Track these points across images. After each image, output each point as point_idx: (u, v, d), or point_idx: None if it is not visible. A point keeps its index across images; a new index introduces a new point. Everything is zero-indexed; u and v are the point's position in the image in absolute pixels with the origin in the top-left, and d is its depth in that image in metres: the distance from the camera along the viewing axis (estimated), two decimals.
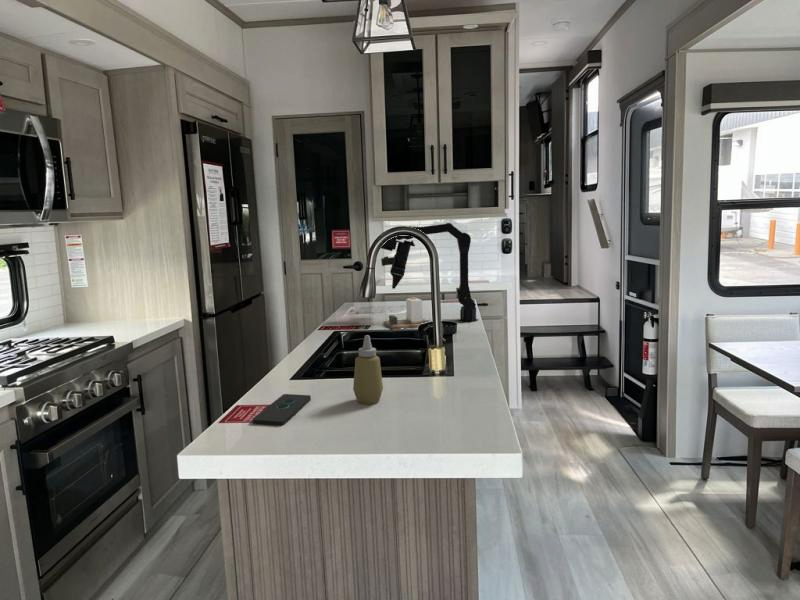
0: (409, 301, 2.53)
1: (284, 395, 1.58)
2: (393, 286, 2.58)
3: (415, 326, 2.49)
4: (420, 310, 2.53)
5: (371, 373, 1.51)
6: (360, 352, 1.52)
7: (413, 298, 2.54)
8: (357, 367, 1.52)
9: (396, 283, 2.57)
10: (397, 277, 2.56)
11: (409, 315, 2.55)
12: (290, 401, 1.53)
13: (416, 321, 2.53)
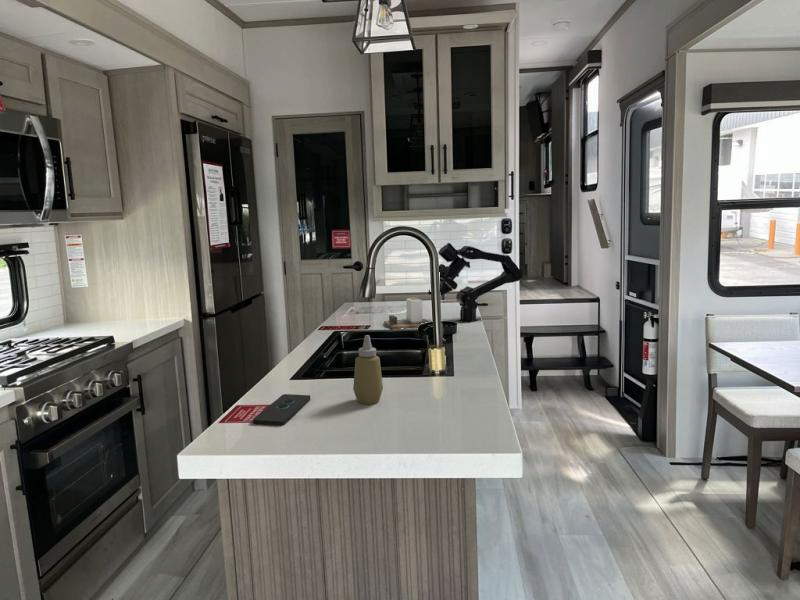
0: (409, 301, 2.53)
1: (283, 395, 1.58)
2: None
3: (415, 326, 2.49)
4: (420, 310, 2.53)
5: (371, 373, 1.51)
6: (360, 352, 1.52)
7: (413, 298, 2.54)
8: (357, 367, 1.52)
9: (441, 293, 2.53)
10: (445, 288, 2.53)
11: (409, 315, 2.55)
12: (290, 401, 1.53)
13: (416, 321, 2.53)
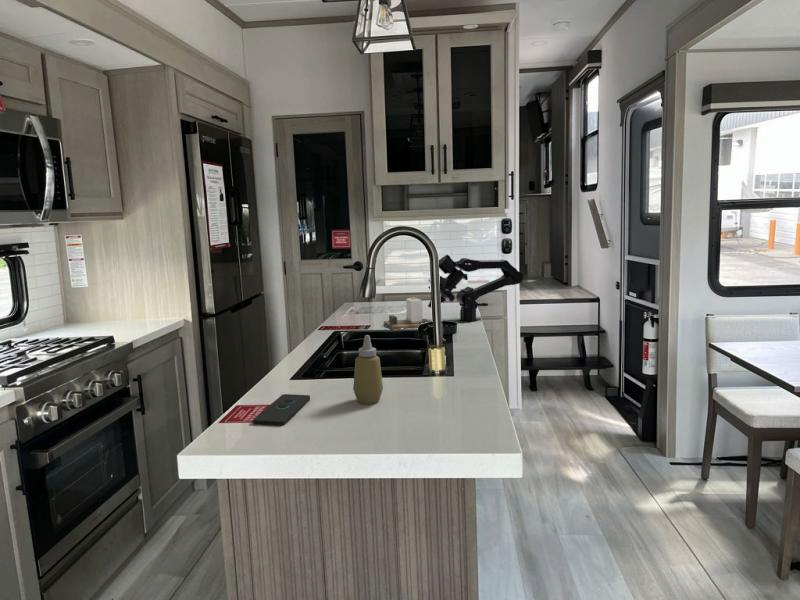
0: (409, 301, 2.53)
1: (283, 395, 1.58)
2: (430, 305, 2.57)
3: (415, 326, 2.49)
4: (420, 310, 2.53)
5: (371, 373, 1.51)
6: (360, 352, 1.52)
7: (413, 298, 2.54)
8: (357, 367, 1.52)
9: None
10: None
11: (409, 315, 2.55)
12: (290, 401, 1.53)
13: (416, 321, 2.53)
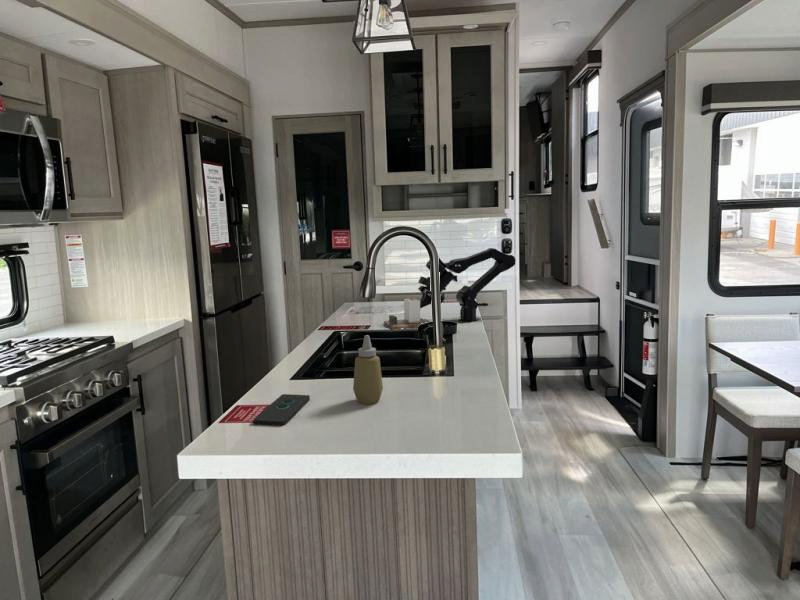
0: (407, 301, 2.53)
1: (283, 395, 1.58)
2: None
3: (415, 326, 2.49)
4: (418, 310, 2.52)
5: (371, 373, 1.51)
6: (360, 352, 1.52)
7: (411, 298, 2.54)
8: (357, 367, 1.52)
9: (424, 305, 2.55)
10: (428, 300, 2.55)
11: (407, 315, 2.54)
12: (289, 401, 1.53)
13: (414, 321, 2.53)
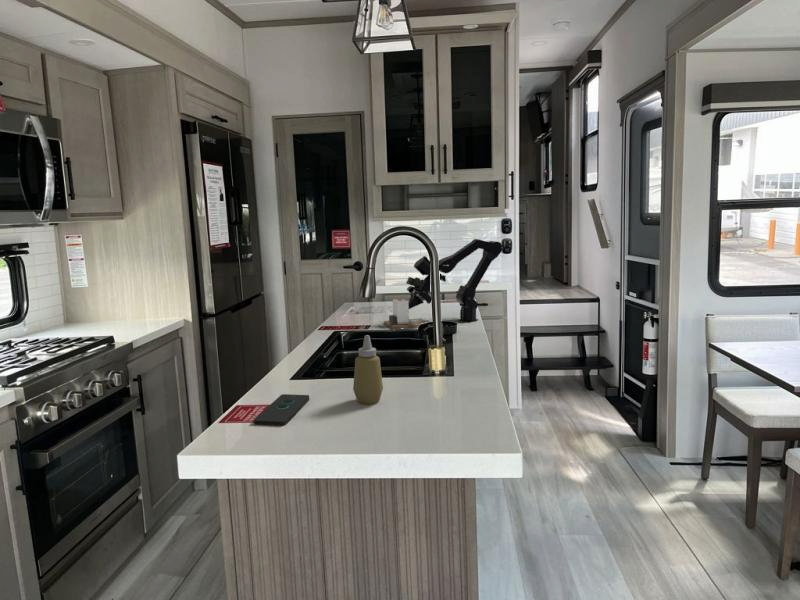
0: (395, 302, 2.52)
1: (282, 395, 1.58)
2: None
3: (415, 326, 2.49)
4: (406, 311, 2.51)
5: (371, 373, 1.51)
6: (360, 352, 1.52)
7: (399, 299, 2.52)
8: (357, 367, 1.52)
9: (412, 305, 2.54)
10: (416, 301, 2.54)
11: None
12: (289, 401, 1.53)
13: (402, 322, 2.51)
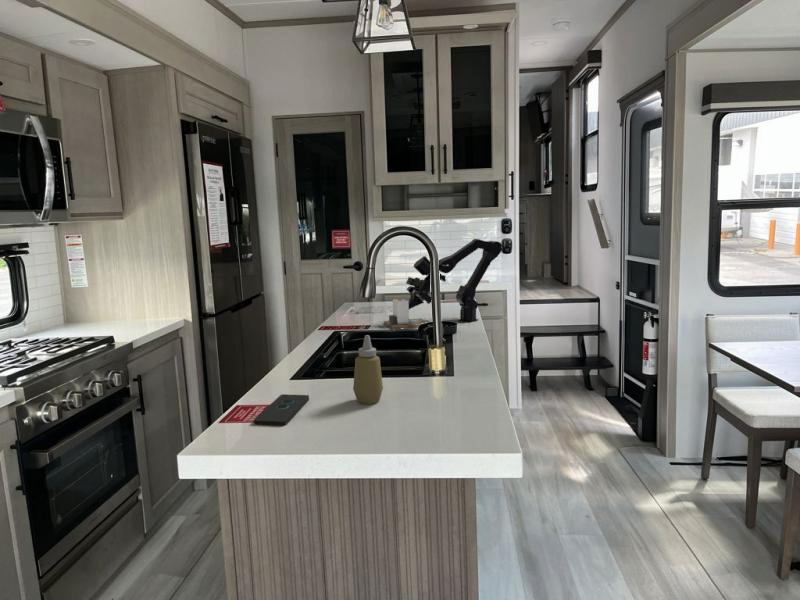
0: (395, 302, 2.52)
1: (282, 395, 1.58)
2: None
3: (415, 326, 2.49)
4: (406, 311, 2.51)
5: (371, 373, 1.51)
6: (360, 352, 1.52)
7: (399, 299, 2.52)
8: (357, 367, 1.52)
9: (412, 306, 2.54)
10: (416, 301, 2.54)
11: None
12: (289, 401, 1.53)
13: (402, 322, 2.51)
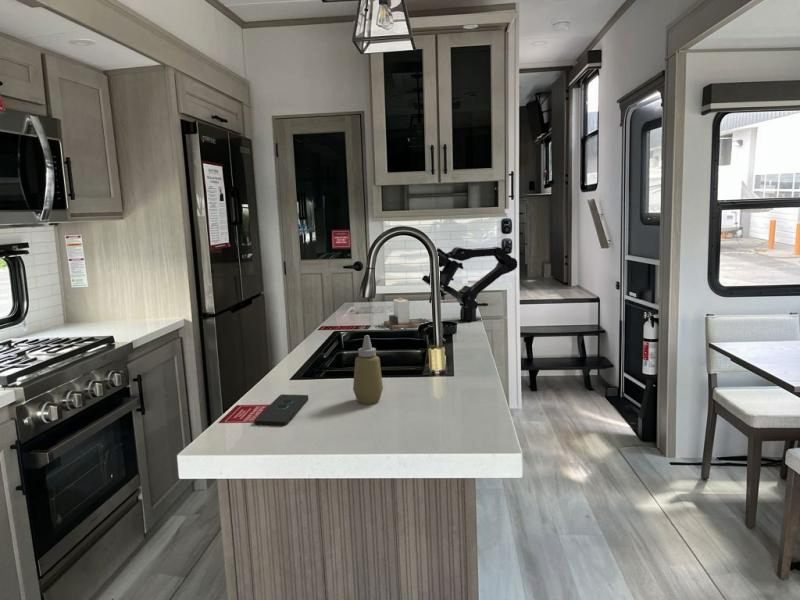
0: (396, 302, 2.52)
1: (281, 395, 1.58)
2: None
3: (415, 326, 2.49)
4: (407, 311, 2.51)
5: (371, 373, 1.51)
6: (360, 352, 1.52)
7: (400, 299, 2.52)
8: (357, 367, 1.52)
9: None
10: None
11: (396, 316, 2.53)
12: (289, 401, 1.53)
13: (403, 322, 2.51)
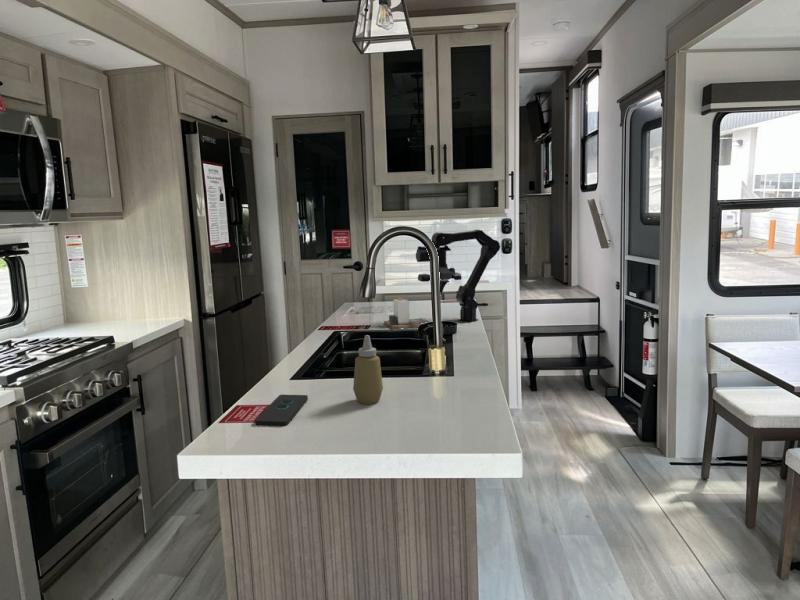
0: (396, 302, 2.52)
1: (280, 396, 1.58)
2: None
3: (415, 326, 2.49)
4: (407, 311, 2.51)
5: (371, 373, 1.51)
6: (360, 352, 1.52)
7: (400, 299, 2.52)
8: (357, 367, 1.52)
9: None
10: None
11: (396, 316, 2.53)
12: (288, 401, 1.53)
13: (403, 322, 2.51)
